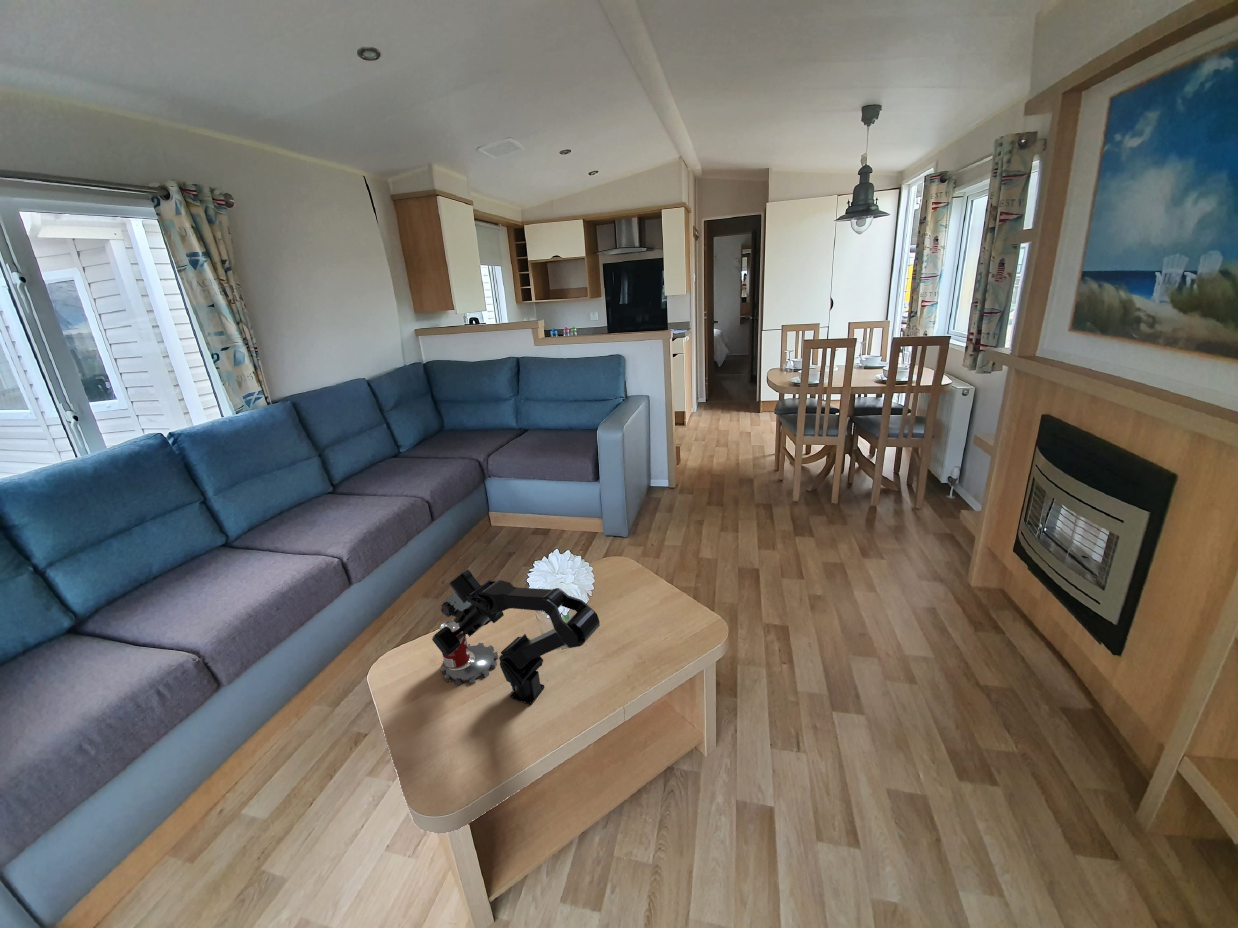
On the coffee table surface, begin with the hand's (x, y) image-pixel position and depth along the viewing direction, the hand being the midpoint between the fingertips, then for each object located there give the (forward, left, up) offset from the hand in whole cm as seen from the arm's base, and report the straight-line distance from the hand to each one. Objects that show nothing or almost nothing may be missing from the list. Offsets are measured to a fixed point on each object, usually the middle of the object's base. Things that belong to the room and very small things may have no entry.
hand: (455, 637), depth 134 cm
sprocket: (-3, -1, -9) cm, 9 cm away
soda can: (0, +1, -8) cm, 8 cm away
